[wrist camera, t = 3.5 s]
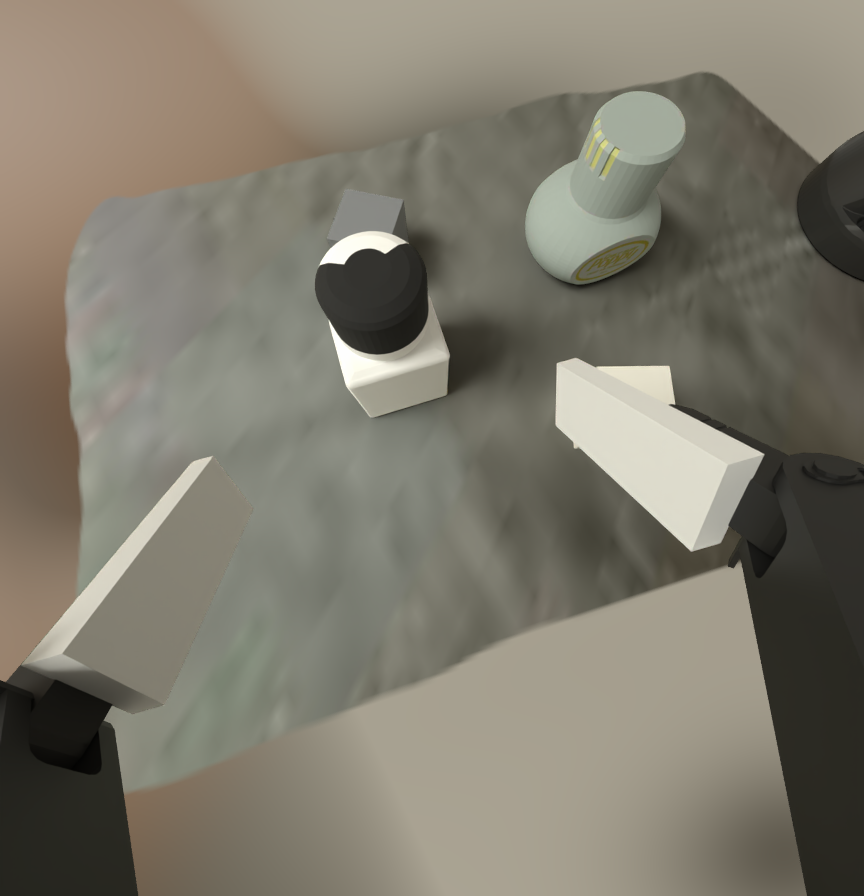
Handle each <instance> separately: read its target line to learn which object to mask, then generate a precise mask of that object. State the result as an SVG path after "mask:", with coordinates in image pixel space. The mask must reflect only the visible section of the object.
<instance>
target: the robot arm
mask: <svg viewBox="0 0 864 896" xmlns="http://www.w3.org/2000/svg"><path fill="white" fill-rule="evenodd" d="M798 213H799V218H800V221H801V224H802V227H803V229H804V231H805V233H806V235H807V237H808V238H809V240H810V241H811V243H812V244H813V245H814V246H815V248H816V249H817V250H818V251H819V252H820V253H821V254H822V255H823V256H824V257H825V258H826V259H827V260H829V261H830V262H831V263H832V264H834V265H835V266H837V267H838V268H840V269H841V270H843V271H845V272H847V273H848V274H850V275H852V276H854V277H857V278H859V279H862V280H864V131H863V132H861V133H860V134H858V135H856V136H854V137H852V138H851V139H849V140H847V141H846V142H845V143H844V144H842V145H841V146H840V147H838V148H837V149H836V150H835V151H834V152H833V153H832V154H830V155H829V156H828V157H827V158H826V159H825V160H824V161H823V162H822V163H821V164H819V165H818V166H817V167H816V168H815V169H814V170H813V171H812V172H811V173H810V174H809V175H808V176H807V178H806V179H805V181H804V182H803V184H802V187H801V189H800V192H799V197H798ZM556 426H557V427H558V428H559V429H560V430H561V431H562V432H563V433H564V434H566V435H567V436H568V437H569V438H570V439H571V440H572V441H573V442H574V443H575V444H576V445H577V446H578V447H580V448H581V449H582V450H583V451H584V452H585V453H586V454H587V455H588V456H589V457H590V458H591V459H592V460H593V461H595V462H596V463H597V464H598V465H599V466H600V467H601V468H602V469H603V470H604V471H605V472H606V473H607V474H609V475H610V476H611V477H612V478H613V479H614V480H615V481H616V482H617V483H618V484H619V485H620V486H621V487H622V488H624V489H625V490H626V491H627V492H628V493H629V494H630V495H631V496H632V497H633V498H634V499H635V500H636V501H638V502H639V503H640V504H641V505H642V506H643V507H644V508H645V509H646V510H647V511H648V512H649V513H650V514H651V515H653V516H654V517H655V518H656V519H657V520H658V521H659V522H660V523H661V524H662V525H663V526H664V527H665V528H667V529H668V530H669V531H670V532H671V533H672V534H673V535H674V536H675V537H676V538H677V539H678V540H679V541H680V542H682V543H683V544H684V545H685V546H686V547H687V548H688V549H689V550H690V551H691V552H692V551H695V550H699V549H702V548H706V547H709V546H712V545H716V544H719V543H721V541H722V539H723V537H724V535H725V533H726V531H727V529H728V527H729V526H730V527H731V528H732V529H734V530H735V531H736V532H738V533H739V534H740V535H742V537H741V539H740V541H739V542H738V544H737V546H736V548H735V550H734V552H733V553H732V555H731V557H730V559H729V563H728V567H731V568H734V567H735V565H736V564H737V562H738V560H739V559H741V563H742V568H743V572H744V577H745V583H746V588H747V593H748V598H749V603H750V608H751V614H752V618H753V624H754V629H755V634H756V639H757V644H758V649H759V654H760V659H761V664H762V669H763V674H764V680H765V685H766V689H767V695H768V700H769V704H770V710H771V715H772V720H773V725H774V730H775V735H776V740H777V745H778V750H779V756H780V761H781V766H782V771H783V776H784V781H785V786H786V791H787V796H788V801H789V807H790V812H791V817H792V821H793V827H794V832H795V837H796V842H797V846H798V852H799V857H800V862H801V867H802V873H803V878H804V883H805V888H806V892H807V896H864V465H863V464H861V463H858V462H855V461H852V460H849V459H845V458H842V457H839V456H833V455H827V454H821V453H800V454H795V455H790V456H788V455H786V454H784V453H782V452H780V451H778V450H776V449H774V448H772V447H770V446H768V445H766V444H764V443H762V442H760V441H758V440H755V439H753V438H751V437H749V436H747V435H745V434H743V433H741V432H739V431H737V430H735V429H733V428H731V427H729V428H727V427H726V425H725V424H723V423H720V422H718V421H716V420H711V418H710V417H708V416H706V415H704V414H702V413H700V412H698V411H696V410H694V409H690V408H686V407H682V406H678V405H674V404H669V405H667V404H665V403H663V402H662V401H660V400H658V399H656V398H654V397H652V396H650V395H648V394H646V393H644V392H642V391H640V390H638V389H636V388H634V387H632V386H630V385H628V384H626V383H624V382H622V381H620V380H619V379H617V378H615V377H613V376H611V375H609V374H607V373H605V372H603V371H601V370H599V369H597V368H595V367H593V366H591V365H589V364H587V363H585V362H583V361H581V360H579V359H578V358H574V359H570V360H567V361H563V362H559V363H557V384H556ZM252 511H253V507H252V506H251V505H250V503H249V502H248V501H247V499H246V498H245V497H244V495H243V494H242V493H241V492H240V490H239V489H238V488H237V486H236V485H235V484H234V482H233V481H232V480H231V478H230V477H229V476H228V474H227V473H226V472H225V470H224V469H223V468H222V466H221V465H220V464H219V463H218V461H217V460H216V459H215V457H214V456H211V457H208V458H204V459H200V460H197V461H193V462H192V463H191V464H190V465H189V467H188V468H187V469H186V470H185V471H184V473H183V474H182V475H181V476H180V477H179V478H178V480H177V481H176V482H175V483H174V484H173V486H172V487H171V488H170V489H169V490H168V491H167V493H166V494H165V495H164V496H163V497H162V499H161V500H160V501H159V502H158V503H157V505H156V506H155V507H154V508H153V509H152V510H151V512H150V513H149V514H148V515H147V516H146V518H145V519H144V520H143V521H142V522H141V523H140V525H139V526H138V527H137V528H136V529H135V531H134V532H133V533H132V534H131V535H130V536H129V538H128V539H127V540H126V541H125V542H124V544H123V545H122V546H121V547H120V548H119V549H118V551H117V552H116V553H115V554H114V555H113V557H112V558H111V559H110V560H109V561H108V563H107V564H106V565H105V566H104V567H103V568H102V570H101V571H100V572H99V573H98V574H97V576H95V577H94V579H93V580H92V581H91V582H90V583H89V585H88V586H87V587H86V588H85V589H84V590H83V592H82V593H81V594H80V595H79V597H78V598H77V599H76V600H75V601H74V602H73V603H72V605H71V606H70V607H69V608H68V609H67V611H66V612H65V613H64V615H63V616H62V617H61V618H60V619H59V620H58V621H57V622H56V624H55V625H54V626H53V627H52V628H51V629H50V631H49V632H48V633H47V634H46V636H45V637H44V638H43V639H42V640H41V641H40V642H39V644H38V645H37V646H36V647H35V648H34V650H33V651H32V652H31V653H30V654H29V656H28V657H27V658H26V659H25V660H24V661H23V663H22V664H21V665H20V666H19V667H18V668H17V670H16V671H15V672H14V673H13V674H12V676H11V677H10V678H9V679H8V680H7V681H6V682H3V681H1V680H0V896H138V891H137V884H136V877H135V870H134V863H133V857H132V849H131V842H130V835H129V828H128V821H127V814H126V807H125V800H124V793H123V786H122V779H121V772H120V765H119V758H118V751H117V744H116V737H115V730H114V728H113V726H112V725H111V724H110V723H108V722H105V721H103V720H104V719H105V717H106V715H107V713H108V712H109V710H110V708H111V706H115V707H117V708H119V709H121V710H124V711H126V712H128V713H131V714H135V713H138V712H142V711H145V710H148V709H152V708H155V707H159V706H162V705H165V703H166V701H167V698H168V696H169V694H170V692H171V690H172V687H173V685H174V683H175V681H176V679H177V676H178V674H179V672H180V670H181V668H182V665H183V663H184V661H185V659H186V657H187V654H188V652H189V650H190V648H191V645H192V643H193V641H194V639H195V637H196V634H197V632H198V630H199V628H200V626H201V623H202V621H203V619H204V617H205V615H206V612H207V610H208V608H209V606H210V604H211V601H212V599H213V597H214V595H215V592H216V590H217V588H218V586H219V584H220V581H221V579H222V577H223V575H224V573H225V570H226V568H227V566H228V564H229V562H230V559H231V557H232V555H233V553H234V551H235V548H236V546H237V544H238V542H239V540H240V537H241V535H242V533H243V531H244V528H245V526H246V524H247V522H248V520H249V517H250V515H251V513H252Z"/></svg>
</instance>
